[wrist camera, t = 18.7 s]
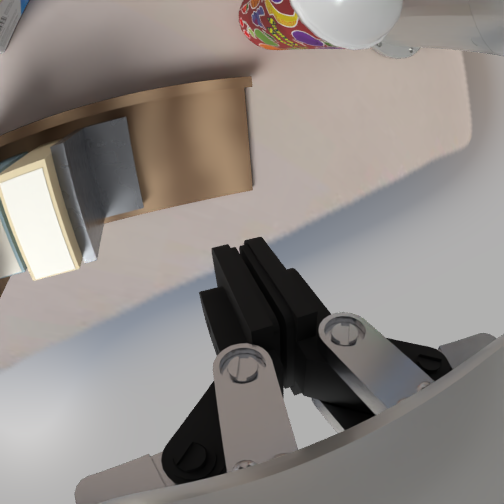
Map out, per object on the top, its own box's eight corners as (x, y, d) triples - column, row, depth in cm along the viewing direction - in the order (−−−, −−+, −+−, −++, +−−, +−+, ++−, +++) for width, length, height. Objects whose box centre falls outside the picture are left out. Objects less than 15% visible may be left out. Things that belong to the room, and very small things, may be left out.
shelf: (241, 77, 28) (317, 74, 16) (250, 188, 34) (318, 254, 22) (-14, 141, 21) (-96, 188, 10) (19, 245, 28) (-27, 337, 16)
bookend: (126, 116, 25) (120, 126, 18) (143, 205, 30) (146, 247, 23) (75, 129, 24) (50, 147, 17) (96, 217, 29) (85, 263, 22)
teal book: (27, 150, 23) (-11, 176, 16) (48, 224, 28) (25, 271, 20) (3, 160, 23) (-39, 189, 15) (25, 232, 27) (-3, 279, 19)
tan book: (76, 133, 25) (44, 158, 16) (95, 210, 29) (79, 269, 20) (39, 145, 24) (-6, 177, 15) (60, 220, 28) (33, 281, 19)
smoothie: (225, 56, 26) (350, 24, 10) (228, -18, 22) (344, -112, 6) (303, 61, 29) (465, 67, 12) (305, -7, 25) (459, -49, 8)
